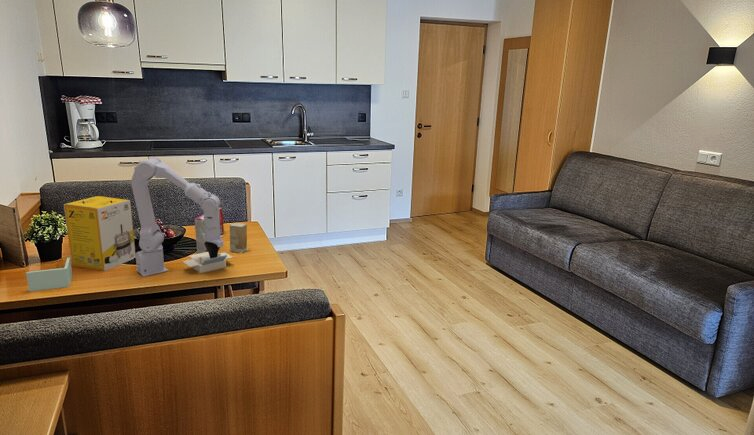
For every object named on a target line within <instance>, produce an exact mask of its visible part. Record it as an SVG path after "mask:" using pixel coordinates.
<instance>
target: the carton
mask: <svg viewBox="0 0 754 435" xmlns="http://www.w3.org/2000/svg"><path fill="white" fill-rule="evenodd" d="M224 255H227V257H226V258H225V260H224V261H219V262H215V263H210V264H206V265H202V263H203V262H204V260H206V259H210V256H209V253H208V252H204V253H199V254H197V253H195V254H192V255H191V254H190V255H188V257H189V258H190V259H187V260H183V261H182V263H183V264H185V265H186V266H188V268H191V269H193V270H194V271H196V272H197V273H199V274H200V275H201V274H205V273H209V272H213V271H217V270H221V269H226V268H227V260H229V259H233V258H234V256H232V255H231V254H228V253H227V252H218V255H217V257H220V256H224Z"/></svg>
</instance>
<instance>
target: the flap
mask: <svg viewBox="0 0 754 435" xmlns="http://www.w3.org/2000/svg"><path fill="white" fill-rule="evenodd" d="M226 257H227V255H224V256H220V257H215V258H211V259H206V260H204V262H203V263H202V265H206V264H210V263H215V262H219V261H224V260H226V259H225V258H226Z"/></svg>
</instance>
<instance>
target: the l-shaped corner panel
mask: <svg viewBox="0 0 754 435" xmlns="http://www.w3.org/2000/svg"><path fill="white" fill-rule="evenodd" d="M65 261H66V262H65V264H64V267H59V268H49V269H41V270H32V271H26V273H25V274H26V281H27V287H28V288H27V289H28V292H37V291H45V290H52V289H54V290H55V289H60V288H68V287H69V288H70V286H71V282H72V278H73V271H72V270H73V269H72V262H71V257H67V258H66V260H65Z"/></svg>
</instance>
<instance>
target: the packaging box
mask: <svg viewBox="0 0 754 435" xmlns="http://www.w3.org/2000/svg"><path fill="white" fill-rule="evenodd" d="M63 210H64V216H65V224H66V230H67V237H68V245H69V252H70V261H71V266H74V267H81V268H85V269H90V270H96V271H102V272H106V271H108V270H110V269H112V268H115V267H118V266H121V265H122V264H123V265H124V264H125V263H127V262H129V261H131V260H134V258H135V259H136V246H135V235H134V226H133V225H134V224H133V214H132V206H131V200H130V199H125V198H119V197H117V198H116V197H109V196H102V195H97V196H92V197H89V198H84V199H80V200H76V201H72V202H71V201H70V202H67V203H64V204H63Z"/></svg>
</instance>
